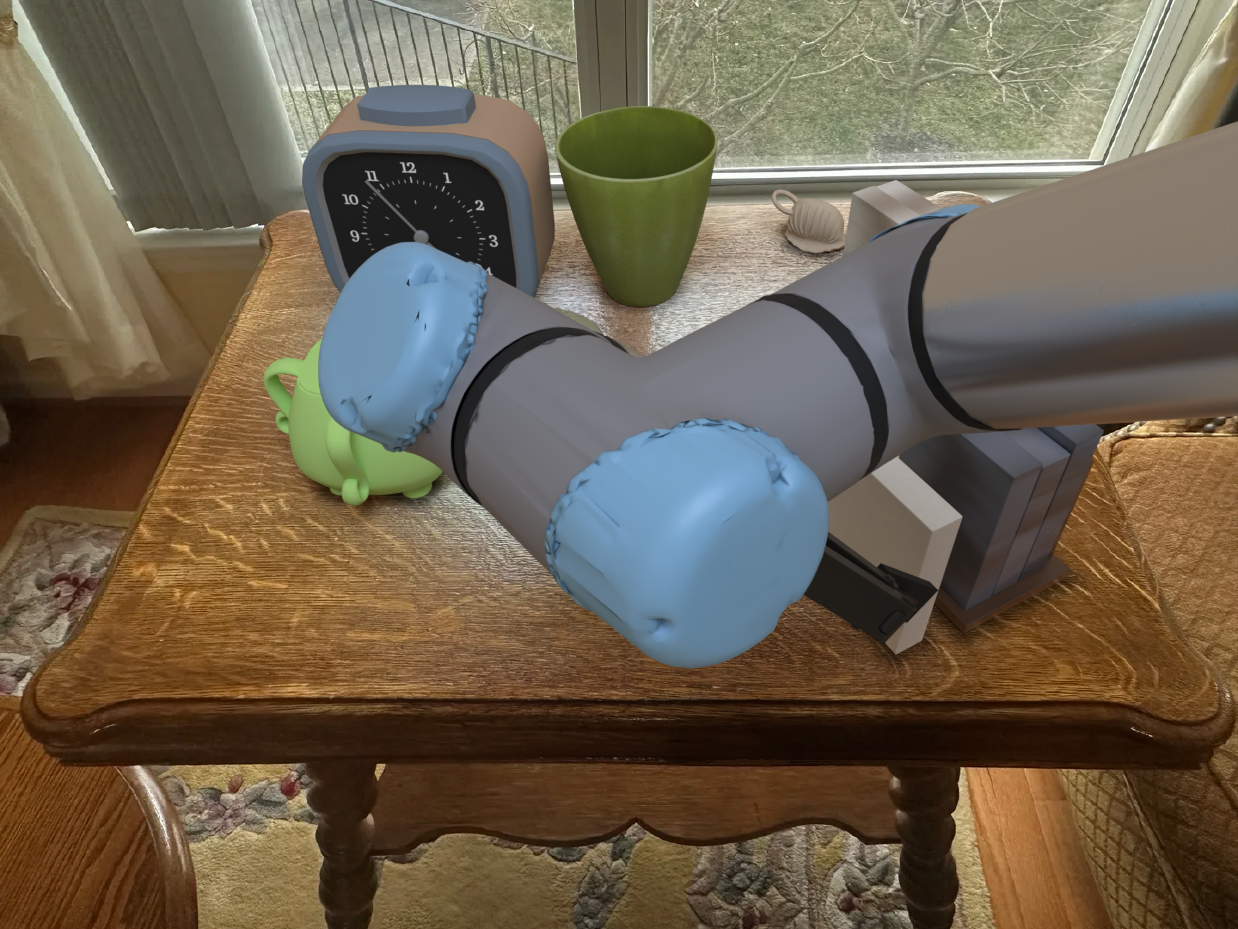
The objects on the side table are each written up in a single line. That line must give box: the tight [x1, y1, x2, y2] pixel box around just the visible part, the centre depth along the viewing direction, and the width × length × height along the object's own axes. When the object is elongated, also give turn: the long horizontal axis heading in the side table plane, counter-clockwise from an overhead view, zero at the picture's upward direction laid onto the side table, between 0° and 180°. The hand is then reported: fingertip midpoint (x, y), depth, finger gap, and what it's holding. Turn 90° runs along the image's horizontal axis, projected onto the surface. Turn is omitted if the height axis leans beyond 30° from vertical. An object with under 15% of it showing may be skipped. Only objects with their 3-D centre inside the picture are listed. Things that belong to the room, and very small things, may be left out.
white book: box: [828, 456, 962, 655], centre depth 64 cm, size 9×2×13 cm, turn 28°
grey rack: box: [898, 424, 1105, 634], centre depth 66 cm, size 11×10×15 cm
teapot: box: [262, 338, 444, 507], centre depth 76 cm, size 16×14×13 cm
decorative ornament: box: [770, 189, 846, 254], centre depth 101 cm, size 4×8×5 cm, turn 58°
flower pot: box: [554, 105, 719, 308], centre depth 92 cm, size 15×15×16 cm
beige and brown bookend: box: [842, 179, 942, 256], centre depth 83 cm, size 11×15×14 cm
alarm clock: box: [301, 84, 556, 298], centre depth 89 cm, size 21×10×22 cm, turn 82°
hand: (846, 527), depth 60 cm, fingers open, 13 cm apart
